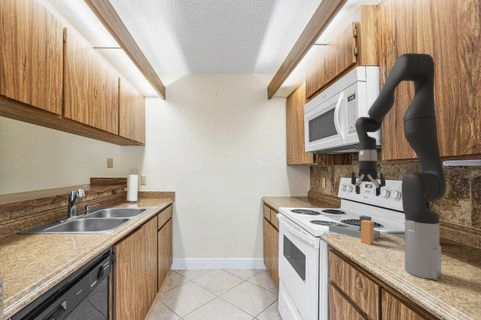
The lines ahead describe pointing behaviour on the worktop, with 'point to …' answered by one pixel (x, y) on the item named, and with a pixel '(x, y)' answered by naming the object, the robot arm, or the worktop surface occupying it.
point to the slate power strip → (351, 229)
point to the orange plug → (367, 232)
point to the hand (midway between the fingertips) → (367, 195)
